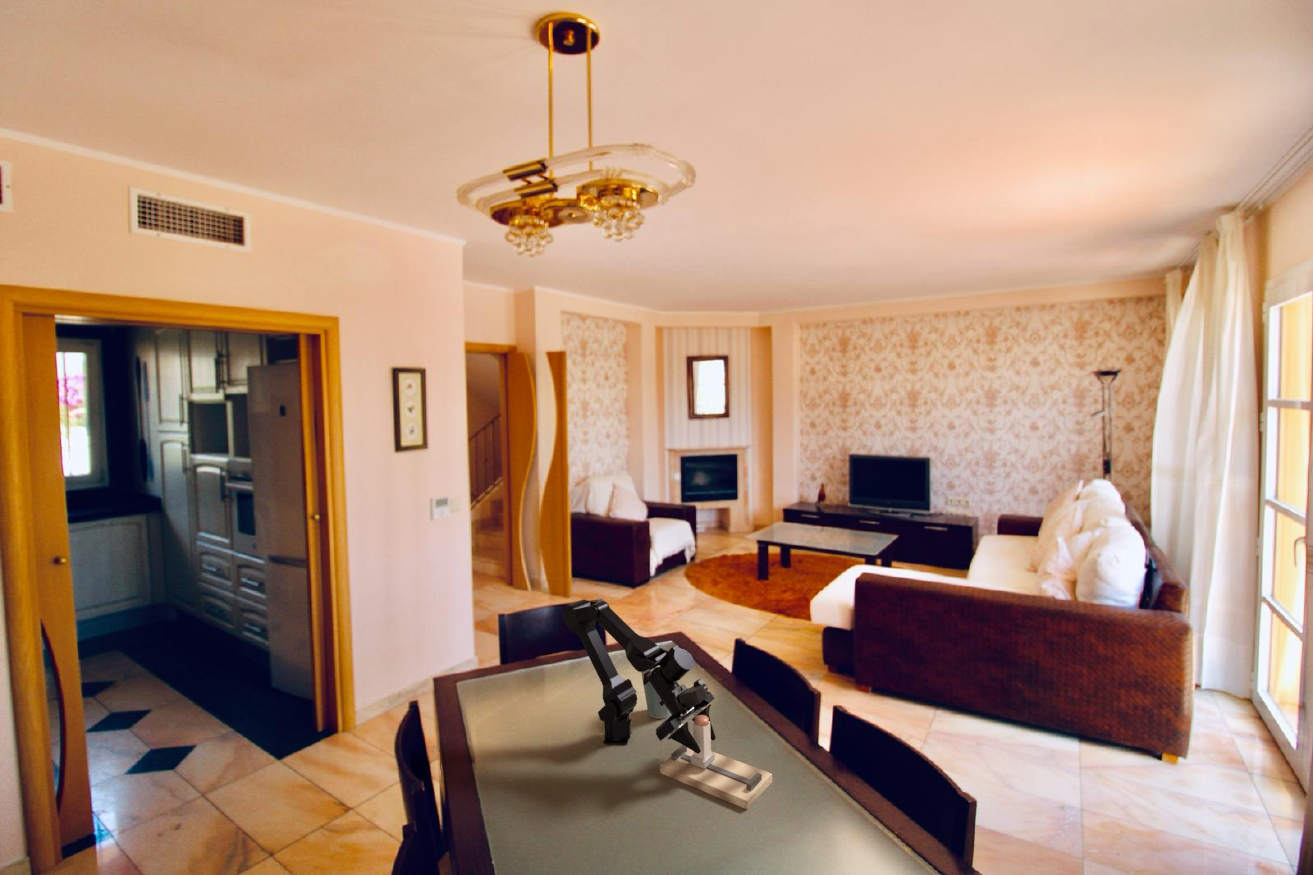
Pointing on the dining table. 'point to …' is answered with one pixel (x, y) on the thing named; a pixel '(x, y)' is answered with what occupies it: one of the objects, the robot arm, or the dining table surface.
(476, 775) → the dining table surface
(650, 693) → the disposable coffee cup
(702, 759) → the slider lever
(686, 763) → the slider console
